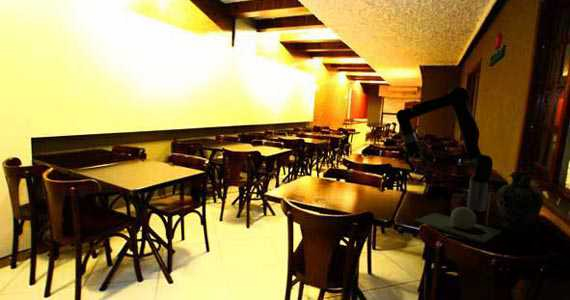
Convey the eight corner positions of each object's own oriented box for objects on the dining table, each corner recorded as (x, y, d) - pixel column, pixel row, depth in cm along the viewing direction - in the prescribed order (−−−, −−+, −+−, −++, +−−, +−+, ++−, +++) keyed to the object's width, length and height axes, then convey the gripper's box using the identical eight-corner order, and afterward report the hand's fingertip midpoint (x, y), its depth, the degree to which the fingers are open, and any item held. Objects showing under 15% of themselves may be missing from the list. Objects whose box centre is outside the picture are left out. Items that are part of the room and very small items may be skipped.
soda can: (466, 218, 172) (468, 196, 171) (452, 216, 174) (454, 195, 172) (461, 214, 179) (464, 193, 178) (448, 212, 180) (450, 192, 179)
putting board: (414, 222, 163) (418, 186, 160) (434, 214, 177) (438, 181, 174) (483, 243, 138) (489, 201, 136) (501, 232, 152) (506, 194, 150)
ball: (464, 203, 161) (480, 222, 156) (445, 215, 163) (460, 234, 158) (466, 201, 151) (483, 221, 146) (446, 213, 153) (461, 234, 149)
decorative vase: (542, 238, 147) (549, 179, 143) (494, 230, 156) (500, 174, 153) (535, 225, 165) (542, 172, 161) (493, 218, 174) (498, 168, 171)
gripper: (404, 143, 184) (413, 170, 182) (424, 137, 187) (433, 164, 186) (397, 145, 191) (405, 171, 190) (416, 140, 194) (425, 165, 193)
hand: (419, 167), depth 188 cm, fingers open, 8 cm apart
